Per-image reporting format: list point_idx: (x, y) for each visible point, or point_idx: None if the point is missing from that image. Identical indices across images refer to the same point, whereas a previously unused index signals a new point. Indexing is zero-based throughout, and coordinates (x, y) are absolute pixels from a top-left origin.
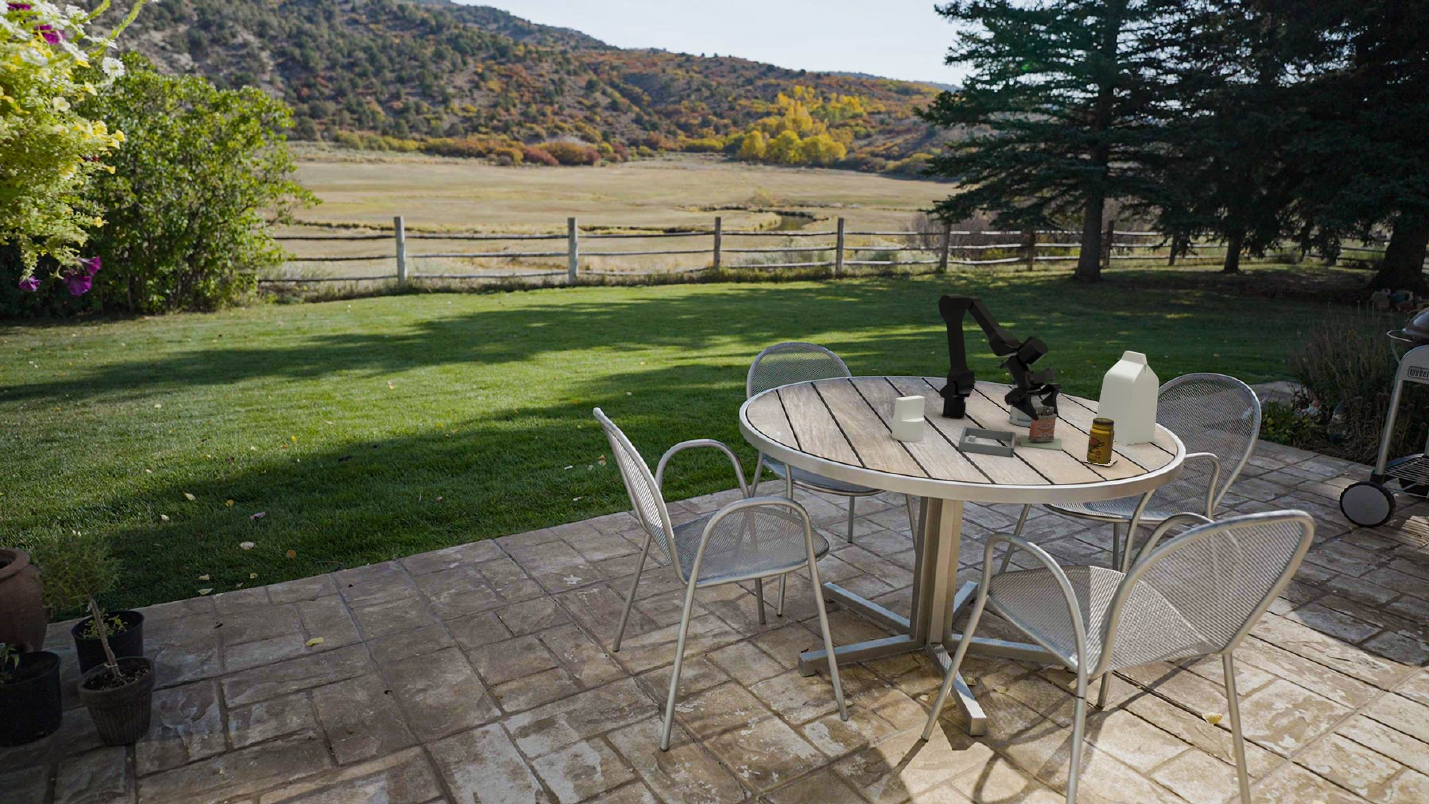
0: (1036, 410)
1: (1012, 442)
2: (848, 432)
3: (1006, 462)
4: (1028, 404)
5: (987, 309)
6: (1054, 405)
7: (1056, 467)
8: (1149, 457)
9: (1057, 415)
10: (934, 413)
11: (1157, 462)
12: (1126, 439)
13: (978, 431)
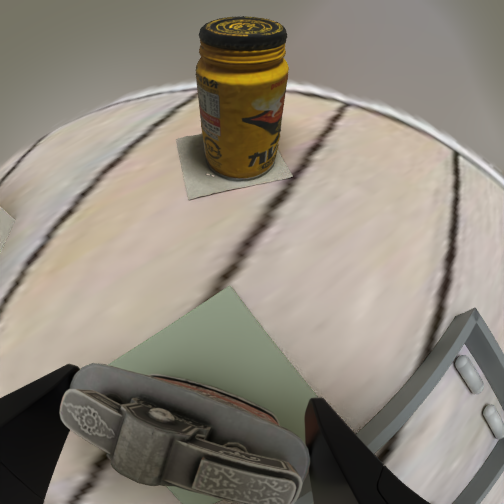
0: (294, 469)
1: (440, 374)
2: None
3: (486, 286)
4: (422, 500)
5: None
6: (19, 411)
7: (398, 191)
8: (86, 137)
9: (75, 369)
10: None
11: (116, 113)
12: (5, 211)
13: None
